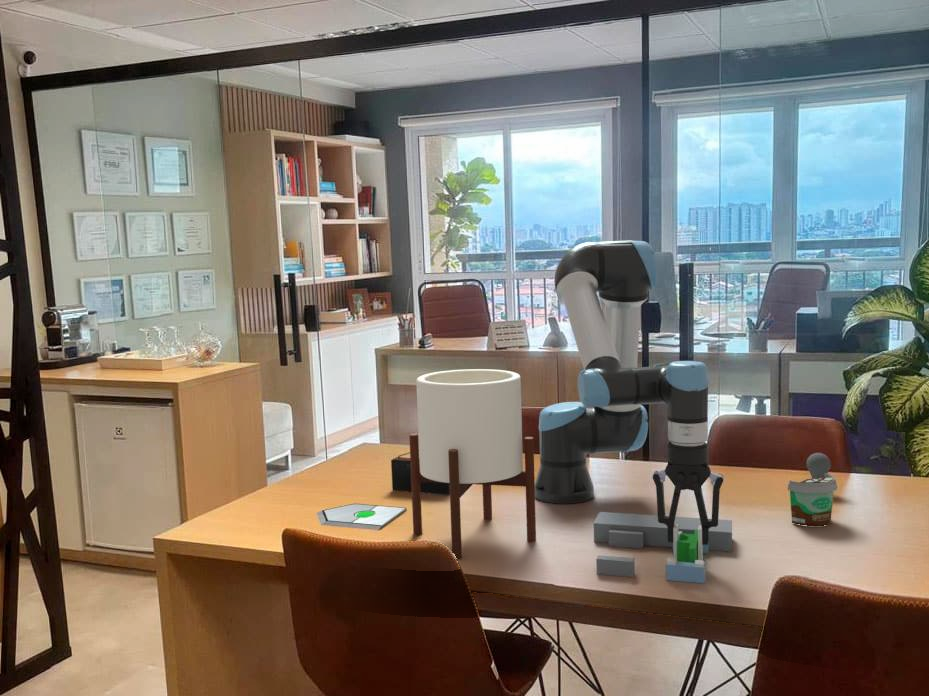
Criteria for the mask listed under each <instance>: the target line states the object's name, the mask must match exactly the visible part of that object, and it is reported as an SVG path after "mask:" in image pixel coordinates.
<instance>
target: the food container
mask: <svg viewBox="0 0 929 696" xmlns="http://www.w3.org/2000/svg"><path fill="white" fill-rule="evenodd" d="M835 478H836V477H834V475H832V474H830V473H825V474H824V477H821V478H817V479H812V478H806V479H803V480H802V481H800V482H799V481H795V480H794V481H793V480H789V481H788V484H787V485H788V486H787V490H788V491H789V497H790V514H791V524H792V523H795V524H800V525H807V526H823V527H825V526H824V525H827V526H829V525H830V524H831V523H830V522H832V521H831V520H832V514H833V513H832V512H833V502H834V494H835V493H834V492H835V491H837V489H838V485H837V481H836V479H835ZM829 523H830V524H829ZM795 524H794V525H795ZM828 524H829V525H828Z"/></svg>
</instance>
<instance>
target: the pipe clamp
mask: <svg viewBox="0 0 929 696" xmlns="http://www.w3.org/2000/svg"><path fill="white" fill-rule="evenodd" d="M695 560H698V530H695V533H694V534H685V533H680V541H677V562H689V563H695Z"/></svg>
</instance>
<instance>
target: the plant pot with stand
mask: <svg viewBox="0 0 929 696" xmlns="http://www.w3.org/2000/svg"><path fill="white" fill-rule="evenodd" d="M415 380H416V381H415V384H416V405H417V406H416V410H417V431H418V433H415V432H414V433H410V434H409V438H408V439H409V452H410V453H409V458H410V463H411V486H412V492H411V504H412V505H411V507H412V508H411V509H412V527H413V530H412V531H413V533H412V534H413V535H415V536H420V535H423V523H422V522H423V521H422V520H423V519H422V516H423V515H422V499H421V497H422V495H421V494H422V493H421V491H420V482H435V483H450V495H449V502H450V503H449V504H450V505H449V506H450V508H449V509H450V530H451V531H450V533H451V536H450V537H451V538H450V539H451V553H452V552H453V553H454V554H455V556H456V558H457V559H458V560H462V558H463V556H462V555H463V553H462V551H463V550H462V549H463V547H462V525H461V524H462V523H461V498H462V497H463V496H464V494H465V493H467V491H468V490H469V489H470V488H471V487H472V486H473V485H479V486H480V485H482V507H483V509H482V511H483V519H484V520H485V521H489V520H490V521H491V520H492V519H493V505H492V497H493V496H492V486H503V487H505V486H507V487H525V509H526V510H525V512H526V517H525V518H526V541H527V542H529V543H534V542H536V541H537V527H536V525H537V524H536V522H537V521H536V498H535V482H536V480H535V479H536V477H535V451H534V450H535V449H534V448H535V446H534V442H535V441H534V437H533V436H526V437H524V439H523V423H522V422H523V420H522V418H523V417H522V385H521V382H522V381H521V380H522V379H521V375H520V374H519V373H517V372H514V371H512V370H511V371H510V370H503V369H486V368H481V369H480V368H477V369H476V368H475V369H474V368H472V369H470V368H469V369H452V370H442V371H434V372H430V373H425V374H423V375H420V376H418V377H417V378H416V379H415ZM523 440H524V453H523ZM523 454H524V456H523ZM523 459H524V460H523ZM419 460H420V467H419ZM523 462H524V463H523ZM524 466H525V467H524ZM523 470H524V471H523ZM458 560H457V561H458Z"/></svg>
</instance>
